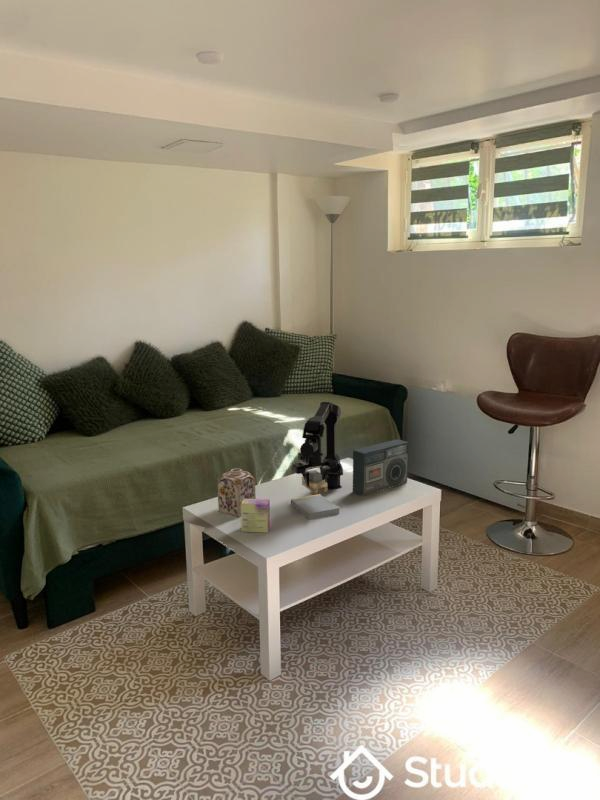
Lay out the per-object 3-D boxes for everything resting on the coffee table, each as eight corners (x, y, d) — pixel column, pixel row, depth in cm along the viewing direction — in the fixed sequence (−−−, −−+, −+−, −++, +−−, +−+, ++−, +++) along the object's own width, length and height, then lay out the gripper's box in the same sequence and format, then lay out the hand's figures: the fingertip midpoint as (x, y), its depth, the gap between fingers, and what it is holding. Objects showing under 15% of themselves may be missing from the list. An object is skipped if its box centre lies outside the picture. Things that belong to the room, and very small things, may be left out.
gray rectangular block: (315, 477, 258) (315, 470, 258) (321, 481, 253) (321, 474, 252) (307, 478, 257) (307, 471, 256) (313, 482, 251) (313, 475, 251)
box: (270, 527, 239) (269, 498, 237) (268, 533, 234) (267, 504, 231) (244, 526, 240) (243, 498, 238) (241, 532, 235) (240, 503, 232)
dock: (319, 499, 268) (319, 493, 268) (339, 513, 252) (339, 507, 252) (290, 504, 262) (290, 498, 262) (308, 519, 246) (308, 513, 246)
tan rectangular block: (314, 482, 262) (314, 474, 261) (327, 491, 251) (327, 483, 251) (301, 484, 260) (301, 476, 259) (314, 493, 249) (314, 485, 248)
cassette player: (363, 496, 272) (364, 453, 268) (352, 492, 278) (353, 450, 273) (407, 482, 290) (408, 442, 286) (396, 478, 295) (397, 439, 291)
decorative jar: (239, 517, 248) (238, 476, 245) (217, 512, 255) (216, 471, 251) (256, 508, 258) (256, 468, 255) (235, 503, 264) (234, 463, 261)
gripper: (325, 442, 263) (325, 476, 266) (286, 447, 255) (286, 482, 259) (337, 448, 253) (337, 484, 256) (297, 454, 245) (297, 491, 249)
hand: (314, 485), depth 255 cm, fingers closed on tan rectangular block, 6 cm apart
